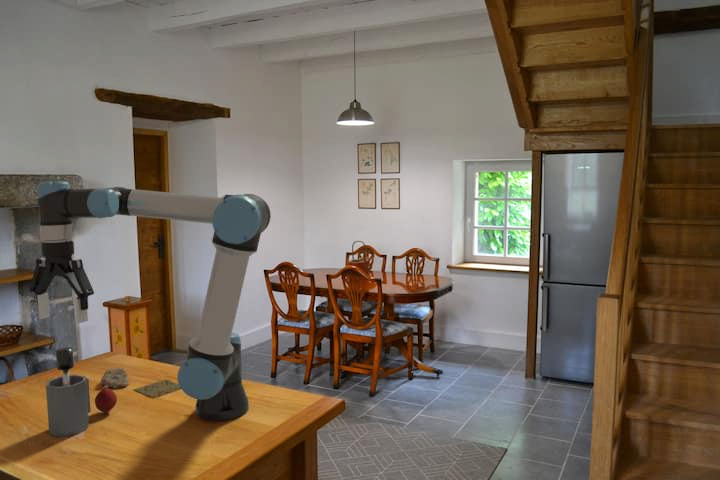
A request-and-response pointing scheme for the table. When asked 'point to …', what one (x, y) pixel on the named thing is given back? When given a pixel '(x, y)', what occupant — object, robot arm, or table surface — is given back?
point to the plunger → (65, 363)
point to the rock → (115, 378)
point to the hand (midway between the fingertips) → (63, 320)
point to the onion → (105, 400)
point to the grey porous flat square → (158, 388)
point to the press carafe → (68, 405)
